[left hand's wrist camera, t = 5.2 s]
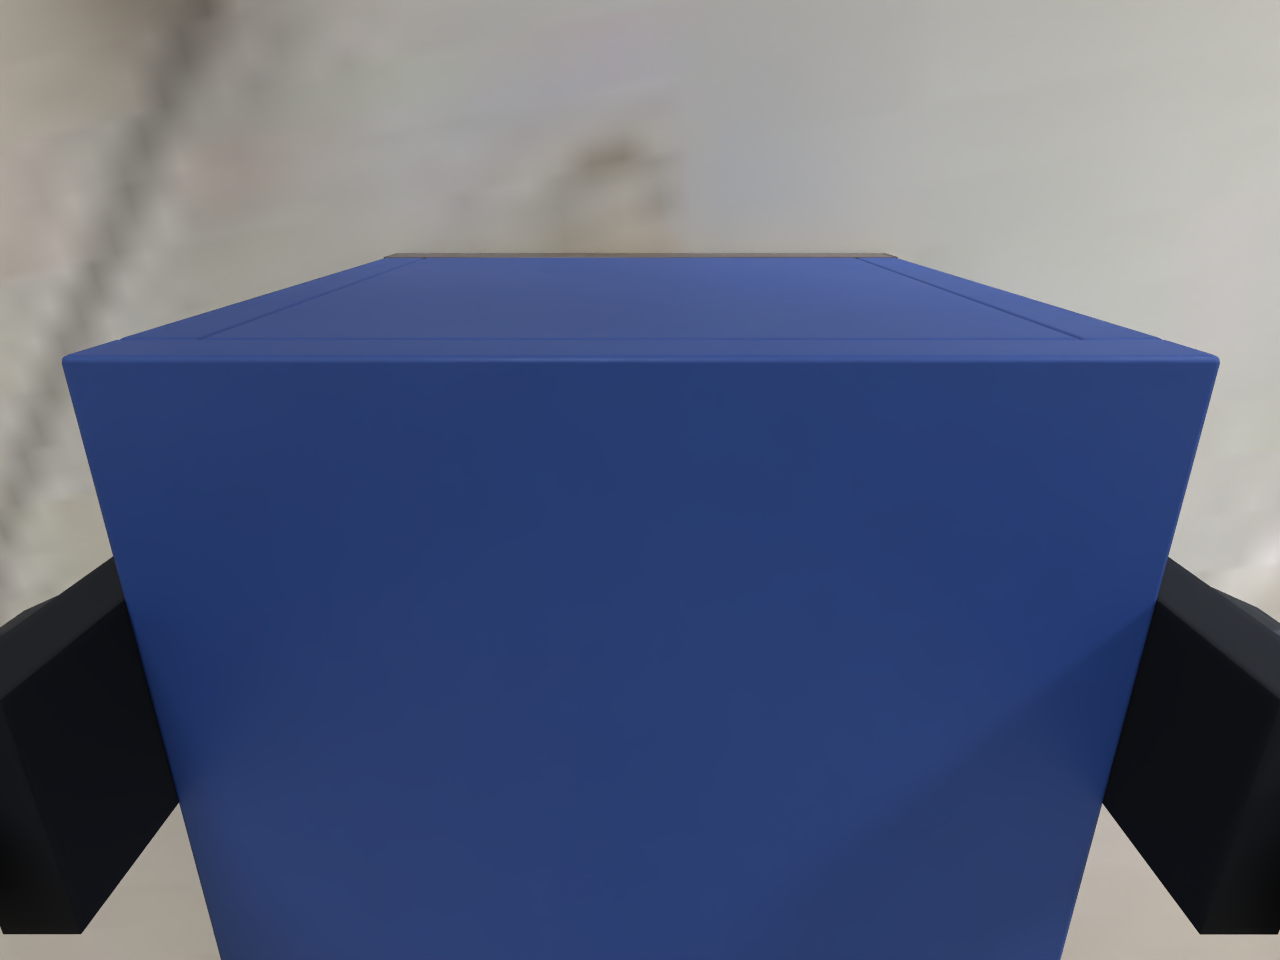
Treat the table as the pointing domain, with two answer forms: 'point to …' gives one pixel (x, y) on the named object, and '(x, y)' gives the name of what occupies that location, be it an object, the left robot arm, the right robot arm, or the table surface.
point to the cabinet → (640, 601)
